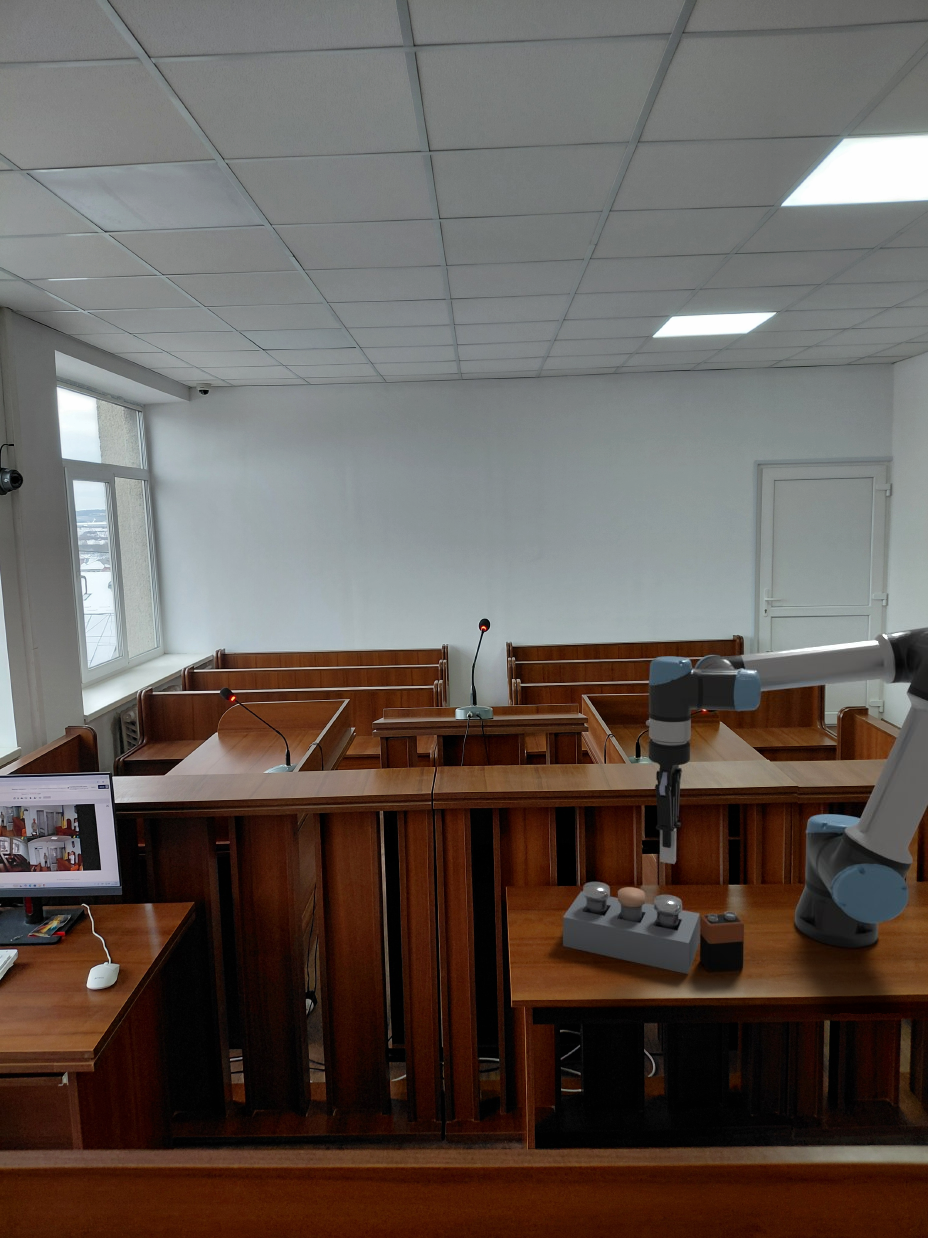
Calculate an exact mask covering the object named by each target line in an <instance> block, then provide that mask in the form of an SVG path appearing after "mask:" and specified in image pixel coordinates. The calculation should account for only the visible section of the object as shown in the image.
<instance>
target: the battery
mask: <svg viewBox="0 0 928 1238" xmlns="http://www.w3.org/2000/svg"><path fill="white" fill-rule="evenodd" d="M737 915H738V914H737V913H736V912H735V911H731V910H727V911H725V912H723V913H716V914H715V913H709V914H702V915H700V932H699V960H700V963H702V964H703V966H704V967H705V968H706V970H707V971H708V972H709V973H713V972H714V973H715V972H716V973H717V972H728V971H737V970H742V969H744V952H745V951H744V949H745V948H744V947H745V945H744V940H745V939H744V938H745V923H744V922H743V921H742V920H741V919H740V918H739V917H738V916H737Z"/></svg>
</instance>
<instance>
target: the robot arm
mask: <svg viewBox="0 0 928 1238" xmlns="http://www.w3.org/2000/svg"><path fill="white" fill-rule="evenodd" d="M648 678H649V680H648V715H649V716H648V717H649V718H648V720H646V721H645V724H646V726H649V728H648V737H649V738H650V739H649V740H648V759H649V761H650V762H652V763H654V764H655V763H656V764H658V765H659V767H658V768H659V769H658V770H657V771H656V775H655V779H656V780H655V781H657V783H656V784H655V786H654V790H655V797H656V811H657V813H656V815H657V816H656V817H657V824H656V826H655V829H656V830H659V834H660V835H659V862H660V863H661V862H662V863H665V864H670V865H671V864H673V865H675V863H676V861H677V828H681V825H682V824H681V822H678V820H679V818H680V816H679V814H680V812H679V811H680V797H681V796H680V795H681V794H680V793H681V780H682V773H683V770H682V767H679V766H682V765H685V764H688V763H689V762H690V761H691V742H690V741H689V740H691V737H692V733H691V732H692V728H691V727H692V726H691V725H692V724H691V723H692V718H691V712H692V710H697V711H699V710H703V711H705V710H706V711H734V712H735V711H737V712H741V711H742V712H743V711H755V710H757V709H758V708H759V706H760V705H761V704H760V703H761V696H762V692H763V691H764V692H767V691H775V690H776V691H777V690H784V689H795V688H804V687H813V686H814V687H815V686H816V687H817V686H825V685H835V684H845V683H855V682H865V681H874V680H875V681H877V680H881V681H882V682H884V683H885V684H887V685H889V684H897V683H898V684H901V683H902V684H905V683H906V684H909V686H908V689H907V691H906V695H907V697H908V699H909V702H910V705H911V706H910V708H909V710H908V711H907V714H906V716H905V719H904V721H903V723H902V725H901V728H900V730H899V731H898V734H897V736H896V739H895V741H894V743H893V746H892V747H891V750H890V752H889V754H888V756H887V759H886V761H885V764H884V766H883V768H882V770H881V772H880V775H879V777H878V778H877V781H876V783H875V785H874V788H873V790H872V792H871V794H870V796H869V798H868V801H867V803H866V805H865V807H864V809H863V812H862V814H861V816H860V818H859V817H856V816H851V815H844V814H832V813H831V814H830V813H829V814H827V813H825V814H816V815H812V816H810V818H809V819H808V820H807V826H806V830H805V834H806V841H805V842H806V844H805V845H806V846H805V875H804V876H805V877H804V878H805V880H804V881H805V882H804V885H805V886H804V889H803V891H802V893H801V895H800V898H799V900H798V902H797V906H796V908H795V912H794V924H795V927H796V928H797V929H798V931H800V932H801V933H802V934H803V935H805V936H807V937H809V938H811V939H813V940H815V941H818V942H820V943H823V944H826V945H830V946H835V947H839V948H840V947H841V948H863V947H867V946H870V945H873V944H874V943H876V941H877V940H878V936H879V925H878V924H880V923H884V922H889V921H891V920H893V919H895V918H897V917H898V916H899V915H900V914H901V913H902V912H903V911H904V910H905V909H906V907H907V905H908V901H909V889H908V884H907V882H906V880H905V879H906V877H907V874H908V872H909V870H910V868H911V865H912V864H913V861H914V860H913V857H912V855H911V852H910V851H909V846H910V845H911V841H912V840H913V838H914V836H915V833H916V831H917V828H918V827H919V825H920V823H921V820H922V818H923V816H924V814H925V812H926V810H927V807H928V626H926V627H921V628H911V629H908V630H901V631H894V632H888V633H886V632H885V633H879V634H877V636H876V637H875V638H874V639H872V640H871V639H870V640H863V641H854V642H845V643H836V644H828V645H827V644H826V645H818V646H811V647H801V648H791V649H782V650H774V651H765V652H756V653H746V654H740V655H730V656H722V655H717V654H710V655H705V656H704V657H702V658H700V659H699V660H698V661H697V663H696V664H695V666H694V668H693V665H692V661H691V660H690V659H689V658H687V657H683V656H675V655H674V656H672V655H671V656H668V655H667V656H658V657H655V658H654V659H652V660H651V662H650V664H649V677H648Z"/></svg>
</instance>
